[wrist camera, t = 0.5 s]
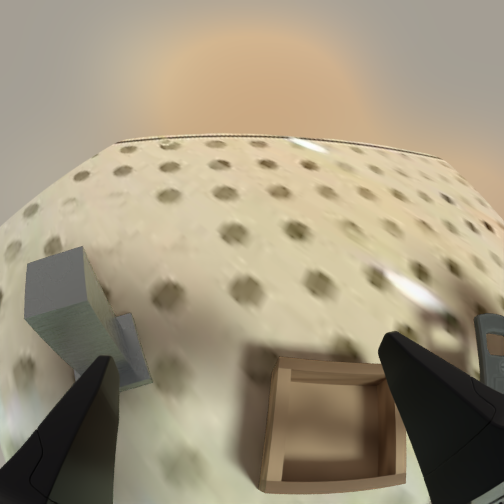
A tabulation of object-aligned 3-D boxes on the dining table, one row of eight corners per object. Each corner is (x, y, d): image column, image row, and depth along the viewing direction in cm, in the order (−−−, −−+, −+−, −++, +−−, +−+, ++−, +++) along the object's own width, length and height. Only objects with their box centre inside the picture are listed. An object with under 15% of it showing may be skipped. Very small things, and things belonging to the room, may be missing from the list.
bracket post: (153, 382, 22) (110, 312, 14) (84, 400, 20) (9, 341, 11) (133, 319, 27) (98, 229, 18) (72, 336, 24) (15, 255, 15)
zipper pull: (517, 317, 22) (528, 518, 5) (486, 345, 27) (485, 525, 10) (473, 307, 23) (474, 547, 6) (440, 338, 28) (429, 545, 11)
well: (382, 484, 17) (405, 483, 14) (258, 489, 17) (264, 493, 14) (381, 379, 24) (400, 364, 22) (271, 372, 24) (279, 356, 22)
